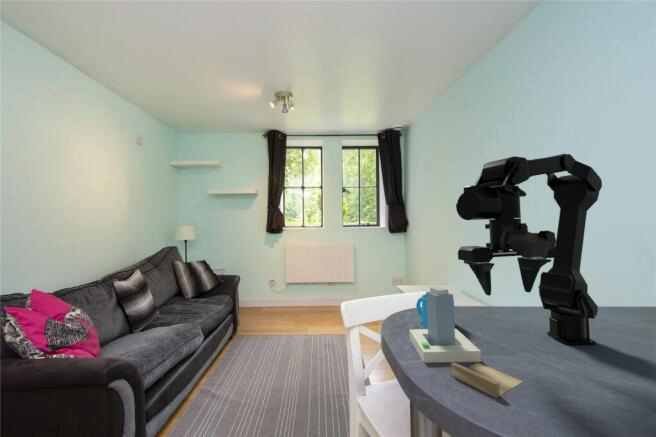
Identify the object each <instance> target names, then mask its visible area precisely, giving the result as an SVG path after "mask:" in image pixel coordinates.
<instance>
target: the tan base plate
mask: <svg viewBox="0 0 656 437" xmlns="http://www.w3.org/2000/svg"><path fill="white" fill-rule="evenodd" d="M450 373H451V374H450V375H451V377H454V378H456V379H458V380H460V381H462V382H464V383H466V384H468V385H470V386H472V387H474V388H476V389H478V390H480V391H482V392H484V393H486V394H488V395H490V396H492V397H494V398H499V397H500V396H501V395H503V394H505V393H507V392H508V391H510V390H512V389H513V388H515V387H518V385H520V384H522V383H523V382H524V381H523V380H521V379H518V378H516V377H514V376H512V375H511V376H510V375H509V374H506V373H504V372H502V371H499V370H497V369H494V368H492V367H489V366H487V365H484V364H482V363H480V362H475V364H472V365H470V366H468V367H466V366H464V365H462V364H459V363H458V362H451V363H450Z"/></svg>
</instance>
